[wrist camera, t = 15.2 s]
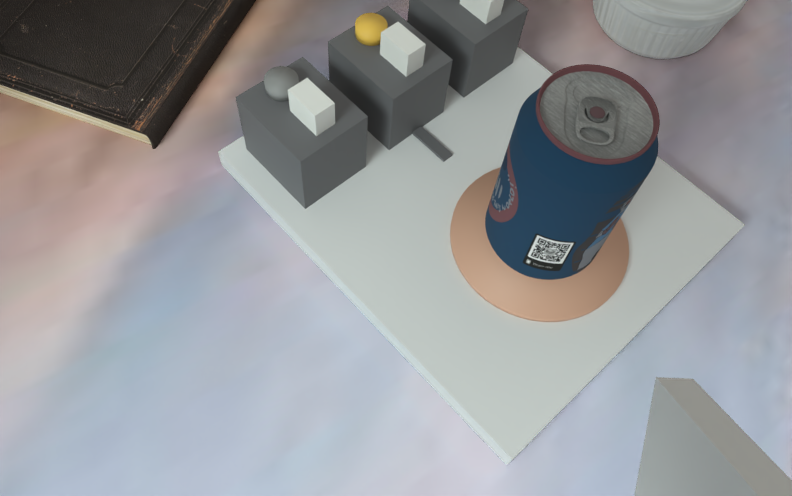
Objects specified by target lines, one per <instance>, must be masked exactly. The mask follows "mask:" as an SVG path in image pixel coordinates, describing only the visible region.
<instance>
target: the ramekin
mask: <svg viewBox="0 0 792 496" xmlns="http://www.w3.org/2000/svg"><path fill="white" fill-rule="evenodd" d="M746 2H747V0H593V9H594V14H595V16H596V19H597V21H598V23H599V25H600V26H601V28H602V29H603V31H604V32H605V33H606V34H607V35H608V36H609V37H610V38H611V39H612V40H613V41H614V42H615V43H616V44H618V45H619V46H621V47H623V48H624V49H626V50H628V51H630V52H632V53H635V54H638V55H641V56H645V57H649V58H655V59H673V58H679V57H683V56H687V55H690V54H692V53H695V52H697V51H698V50H700V49H702V48H703V47H704V46H705V45H706V44H708V43H709V42H710V41H711V40H712V38H713V37H714V36H715V35H716V34H717V33H718V32H719V31H720V30H721V28H722V27H723V26H724V25H725V24H726V23H727V21H728V20H729V19H730V18H732V17H733V16H735V15H736V14H737V13H738V12H739V11H740V10H741V9H742V8H743V6H744V5H745V3H746Z"/></svg>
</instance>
